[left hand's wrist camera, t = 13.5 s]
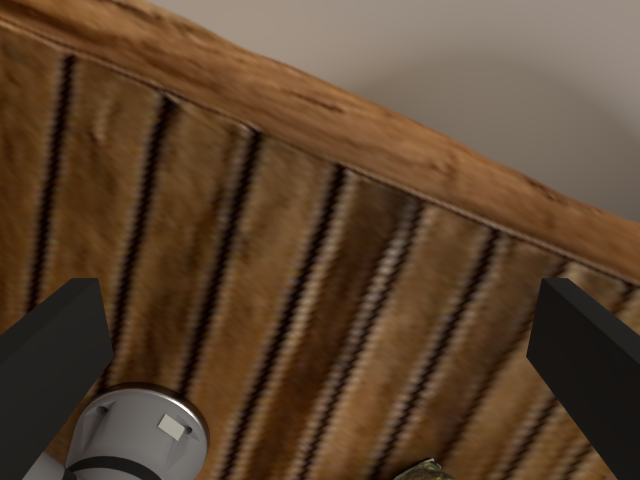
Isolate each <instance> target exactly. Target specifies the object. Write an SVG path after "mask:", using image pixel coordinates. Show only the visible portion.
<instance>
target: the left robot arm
mask: <svg viewBox="0 0 640 480" xmlns="http://www.w3.org/2000/svg"><path fill="white" fill-rule="evenodd" d="M113 357H114V355H113V350H112V345H111V340H110V335H109V330H108V325H107V320H106V315H105V311H104V306H103V301H102V296H101V291H100V286H99V281H98V278H72V279H71V280H69V281H68V282H67V283H66V284H64V285H63V286H62V287H61V288H59V289H58V290H57V291H56V292H54V293H53V294H52V295H51V296H49V297H48V298H47V299H46V300H44V301H43V302H42V303H41V304H39V305H38V306H37V307H36V308H34V309H33V310H32V311H31V312H29V313H28V314H27V315H26V316H24V317H23V318H22V319H21V320H19V321H18V322H17V323H16V324H14V325H13V326H12V327H11V328H9V329H8V330H7V331H6V332H4V333H3V334H2V335H1V336H0V480H194V479H195V477H196V476H197V474H198V473H199V471H200V470H201V468H202V466H203V464H204V462H205V459H206V456H207V452H208V449H209V444H210V433H209V428H208V425H207V423H206V420H205V419H204V417H203V415H202V414H201V412H200V411H199V410H198V409H197V407H196V406H195V405H194V404H193V403H191V402H190V401H189V400H188V399H186V398H185V397H183V396H182V395H180V394H179V393H177V392H175V391H173V390H170V389H168V388H165V387H162V386H159V385H154V384H148V383H126V384H120V385H116V386H113V387H111V388H108V389H106V390H104V391H102V392H101V393H99V394H98V395H97V396H96V397H94V398H93V399H92V401H91V402H90V403H89V404H88V406H87V407H86V408H85V410H84V411H83V413H82V414H81V416H80V418H79V420H78V422H77V425H76V427H75V430H74V434H73V438H72V442H71V446H70V450H69V453H68V457H67V461H66V465H65V467H64V466H63V465H62V464H61V463H59V462H58V461H57V460H55V459H54V458H53V457H51V456H50V455H49V454H47V453H46V452H45V451H44V450H45V448H46V447H47V446H48V444H49V443H50V442H51V440H52V439H53V438H54V436H55V435H56V434H57V432H58V431H59V430H60V428H61V427H62V426H63V424H64V423H65V422H66V420H67V419H68V418H69V416H70V415H71V414H72V412H73V411H74V409H75V408H76V407H77V405H78V404H79V403H80V401H81V400H82V399H83V397H84V396H85V395H86V393H87V392H88V391H89V389H90V388H91V387H92V385H93V384H94V383H95V381H96V380H97V379H98V377H99V376H100V375H101V373H102V372H103V371H104V369H105V368H106V367H107V365H108V364H109V363H110V361H111V360H112V359H113ZM526 357H527V359H528V360H529V361H530V363H531V364H532V365H533V367H534V368H535V369H536V371H537V372H538V373H539V375H540V376H541V377H542V379H543V380H544V381H545V383H546V384H547V385H548V387H549V388H550V389H551V391H552V392H553V393H554V395H555V396H556V397H557V399H558V400H559V401H560V403H561V404H562V405H563V407H564V408H565V409H566V411H567V412H568V414H569V415H570V416H571V418H572V419H573V420H574V422H575V423H576V424H577V426H578V427H579V428H580V430H581V431H582V432H583V434H584V435H585V436H586V438H587V439H588V440H589V442H590V443H591V444H592V446H593V447H594V448H595V450H596V451H597V452H598V454H599V455H600V456H601V458H602V459H603V460H604V462H605V463H606V464H607V466H608V467H609V469H610V470H611V471H612V473H613V474H614V475H615V477H616V478H617V479H618V480H640V336H639V335H638V334H637V333H636V332H634V331H633V330H632V329H631V328H629V327H628V326H627V325H626V324H624V323H623V322H622V321H621V320H619V319H618V318H617V317H616V316H614V315H613V314H612V313H611V312H609V311H608V310H607V309H606V308H604V307H603V306H602V305H601V304H599V303H598V302H597V301H596V300H594V299H593V298H592V297H591V296H589V295H588V294H587V293H586V292H584V291H583V290H582V289H581V288H579V287H578V286H577V285H576V284H574V283H573V282H572V281H571V280H569V279H568V278H542V281H541V286H540V291H539V296H538V301H537V306H536V311H535V315H534V320H533V325H532V330H531V335H530V340H529V345H528V350H527V355H526Z"/></svg>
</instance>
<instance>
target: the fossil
mask: <svg viewBox="0 0 640 480" xmlns="http://www.w3.org/2000/svg"><path fill="white" fill-rule="evenodd" d="M394 480H456V479H455V478H453V477H452V476H450V475H448V474H445V473H443V472H442V470H441V466H440V465H438V464H436V463H435V461H434V459H430V460H427V461H424V462H421V463H419V464H418V465H417V466H415V467H413V468H411V469H409V470H407V471H405V472H404V473H402V474H400V475H398V476H396V478H395V479H394Z"/></svg>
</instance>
